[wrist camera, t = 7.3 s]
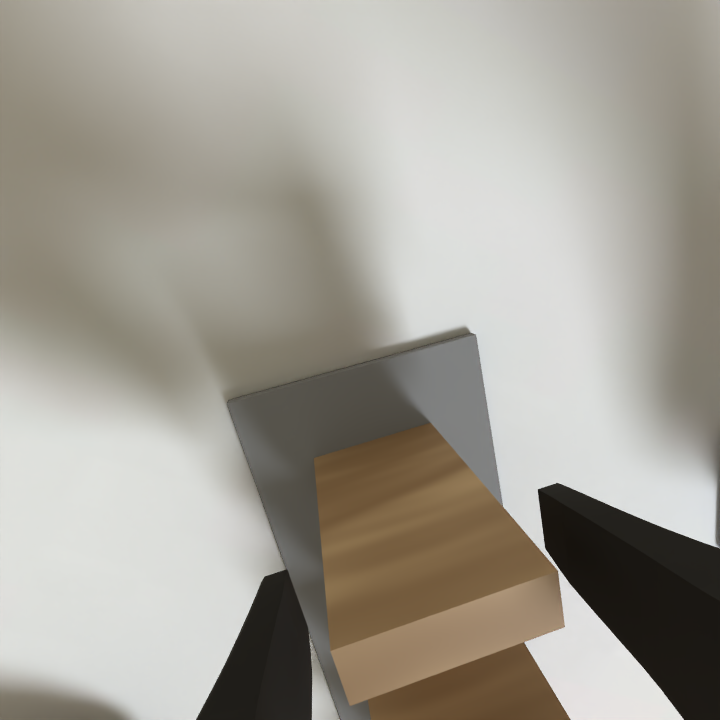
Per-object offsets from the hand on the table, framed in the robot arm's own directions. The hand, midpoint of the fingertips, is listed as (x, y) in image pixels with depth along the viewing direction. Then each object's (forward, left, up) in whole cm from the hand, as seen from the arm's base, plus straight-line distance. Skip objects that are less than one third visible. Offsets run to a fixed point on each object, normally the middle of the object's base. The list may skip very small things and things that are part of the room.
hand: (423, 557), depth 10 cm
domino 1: (0, 0, -6) cm, 6 cm away
